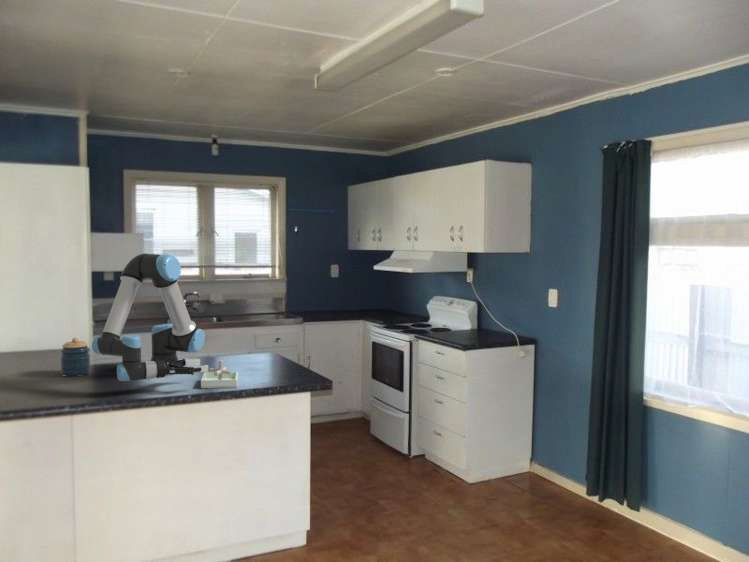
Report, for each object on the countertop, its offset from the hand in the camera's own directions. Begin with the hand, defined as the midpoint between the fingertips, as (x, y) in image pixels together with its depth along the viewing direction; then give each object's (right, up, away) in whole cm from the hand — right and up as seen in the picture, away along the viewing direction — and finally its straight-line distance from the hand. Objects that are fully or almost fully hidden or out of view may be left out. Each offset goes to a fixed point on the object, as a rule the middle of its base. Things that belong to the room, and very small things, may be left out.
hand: (204, 365), depth 290 cm
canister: (-66, -7, +17) cm, 68 cm away
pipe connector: (+6, -8, +4) cm, 11 cm away
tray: (+6, -9, +5) cm, 12 cm away
